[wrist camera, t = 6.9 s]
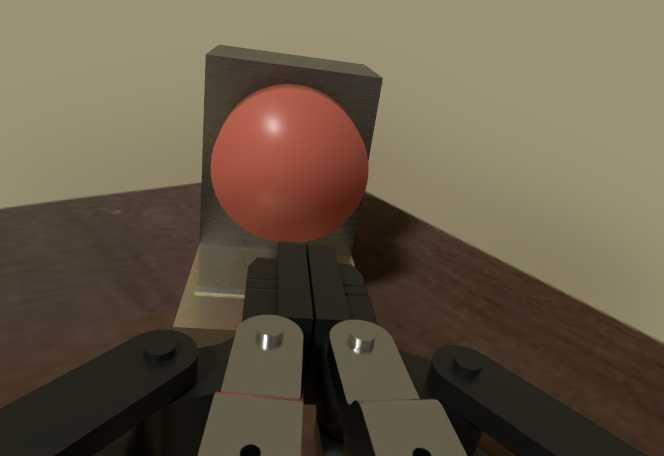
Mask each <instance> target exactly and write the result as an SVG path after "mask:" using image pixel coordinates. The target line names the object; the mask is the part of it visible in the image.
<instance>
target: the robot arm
mask: <svg viewBox="0 0 664 456" xmlns="http://www.w3.org/2000/svg"><path fill="white" fill-rule="evenodd" d="M302 393H303V399H304V404H309V405H316V412H317V414H316V421H315V427H314V439H315V445H316V451H317V456H489V455H488V454H487V453H485V452H484V451H483V450H481V449H480V448H479V447H477V445H478V442H479V439H480V437H481V434H482V431H483V432H485V433H486V434H488V435H489V436H490V437H492V438H493V439H494V440H496V441H497V442H499V443H500V444H501V445H503V446H504V447H505V448H507V449H508V450H510V451H511V452H512V453H514V454H515V455H516V456H647V455H645V454H644V453H642V452H641V451H639V450H637V449H636V448H634V447H632V446H631V445H629V444H628V443H626V442H624V441H623V440H621V439H619V438H618V437H616V436H615V435H613V434H611V433H610V432H608V431H606V430H605V429H603V428H602V427H600V426H598V425H597V424H595V423H593V422H592V421H590V420H589V419H587V418H585V417H584V416H582V415H581V414H579V413H577V412H576V411H574V410H572V409H571V408H569V407H568V406H566V405H564V404H563V403H561V402H559V401H558V400H556V399H555V398H553V397H551V396H550V395H548V394H546V393H545V392H543V391H542V390H540V389H538V388H537V387H535V386H534V385H532V384H530V383H529V382H527V381H525V380H524V379H522V378H521V377H519V376H517V375H516V374H514V373H512V372H511V371H509V370H508V369H506V368H504V367H503V366H501V365H499V364H498V363H496V362H495V361H493V360H491V359H490V358H488V357H487V356H485V355H483V354H481V353H480V352H478V351H475V350H473V349H470V348H467V347H463V346H456V345H450V346H444V347H441V348H439V349H438V350H436V351H435V353H434V354H433V357H432V361H431V360H428V359H424V358H420V357H416V356H413V355H409V354H406V353H404V352H402V351H399V350H398V349H397V347H396V345H395V343H394V341H393V339H392V337H391V335H390V334H389V333H388V332H387V331H386V330H385V329H383V328H382V327H380V326H378V325H377V322H376V319H375V316H374V313H373V309H372V306H371V303H370V299H369V297H368V293H367V290H366V288H365V283H364V280H363V276H362V274H361V273H360V272H359V271H358V270H357V269H356V268H355V267H354V266H353V265H352V264H341V263H338V262H337V258H336V253H335V249H334V246H333V245H323V244H311V243H307V244H306V246H305V243H297V242H285V241H278V246H277V255H276V259H273V258H259V257H257V258H256V259H255V260H254V261H253V262H252V263H251V264H250V265H249V266H248V271H247V280H246V289H245V297H244V306H243V314H242V323H241V324H240V325H239V326H238V328H237V330H236V334H235V335H234V336H233V337H232V338H230V339H228V340H226V341H224V342H222V343H219V344H216V345H212V346H206V347H200V348H198V347H197V344H196V342H195V341H194V340H193V339H192V338H191V337H190V336H188V335H186V334H184V333H182V332H179V331H174V330H154V331H149V332H146V333H143V334H140V335H138V336H136V337H134V338H132V339H130V340H128V341H126V342H124V343H122V344H121V345H119V346H117V347H115V348H113V349H111V350H109V351H107V352H106V353H104V354H102V355H100V356H98V357H96V358H94V359H92V360H91V361H89V362H87V363H85V364H83V365H81V366H79V367H77V368H76V369H74V370H72V371H70V372H68V373H66V374H64V375H63V376H61V377H59V378H57V379H55V380H53V381H51V382H49V383H48V384H46V385H44V386H42V387H40V388H38V389H36V390H34V391H33V392H31V393H29V394H27V395H25V396H23V397H21V398H19V399H18V400H16V401H14V402H12V403H10V404H8V405H6V406H4V407H3V408H1V409H0V456H301V435H302V411H303V399H302Z"/></svg>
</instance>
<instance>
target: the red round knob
mask: <svg viewBox="0 0 664 456" xmlns="http://www.w3.org/2000/svg"><path fill="white" fill-rule="evenodd" d="M211 178H212V184H213V188H214V191H215V194H216V196H217V198H218V201H219V203H220V204H221V206H222V208H223V209H224V211H225V212H226V213H227V214H228V216H229V217H230V218H231V219H232V220H233V221H234V222H235V223H236V224H237V225H238V226H240V227H241V228H243V229H244V230H245V231H247V232H249V233H251V234H252V235H254V236H256V237H259V238H262V239H264V240H268V241H272V242H277V243H278V241H285V242H297V243H303V242H308V241H312V240H315V239H318V238H321V237H323V236H325V235H327V234H329V233H331V232H332V231H334V230H336V229H337V228H338V227H340V226H341V225H342V224H343V223H344V222H346V220H347V219H348V218H349V217H350V216H351V215H352V214H353V212H354V211H355V210H356V208H357V207H358V205H359V203H360V201H361V199H362V197H363V194H364V192H365V189H366V185H367V180H368V157H367V152H366V148H365V145H364V142H363V140H362V138H361V136H360V133H359V132H358V130H357V129H356V127H355V125H354V124H353V122H352V121H351V119H350V117H349V116H348V114H347V113H346V112H345V110H344V109H343V108H342V107H341V106H340V105H339V104H338V103H337V102H336V101H335V100H333V99H332V98H331V97H329V96H328V95H326V94H324V93H322V92H320V91H318V90H316V89H313V88H311V87H308V86H303V85H298V84H279V85H273V86H269V87H266V88H263V89H260V90H258V91H256V92H254V93H252V94H250V95H249V96H247V97H246V98H244V99H243V100H242V101H241V102H240V103H238V104H237V105H236V106H235V107H234V109H233V110H232V111H231V112H230V114H229V115H228V117H227V119H226V120H225V122H224V124H223V126H222V128H221V131H220V133H219V135H218V138H217V140H216V142H215V145H214V148H213V152H212V158H211Z"/></svg>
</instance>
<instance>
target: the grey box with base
mask: <svg viewBox="0 0 664 456" xmlns="http://www.w3.org/2000/svg"><path fill="white" fill-rule="evenodd" d="M205 66H206V67H205V96H204V126H203V157H202V187H201V217H200V245H199V248H198V251H197V254H196V257H195V260H194V263H193V266H192V269H191V272H190V276H189V279H188V282H187V285H186V288H185V291H184V294H183V297H182V300H181V303H180V306H179V310H178V313H177V316H176V319H175V322H174V325H173V330H174V331H179V332H182V333H184V334H186V335H188V336H190V337H191V338H192V339H193V340H194V341H195V342H196V344H197V347H198V348H200V347H206V346H212V345H216V344H219V343H222V342H224V341H226V340H228V339H230V338H232V337H233V336H234V335H235V334H236V330H237V328H238V326H239V325H240V324H241V323H242V314H243V306H244V297H245V289H246V280H247V271H248V266H249V265H250V264H251V263H252V262H253V261H254V260H255V259H256V258H257V257H259V258H273V259H276V255H277V246H278V243H277V242H272V241H268V240H264V239H262V238H259V237H256V236H254V235H252V234H251V233H249V232H247V231H245V230H244V229H243V228H241V227H240V226H238V225H237V224H236V223H235V222H234V221H233V220H232V219H231V218H230V217H229V216H228V214H227V213H226V212H225V211H224V209H223V208H222V206H221V204H220V203H219V201H218V198H217V196H216V194H215V191H214V188H213V184H212V178H211V158H212V152H213V148H214V145H215V142H216V140H217V138H218V135H219V133H220V131H221V128H222V126H223V124H224V122H225V120H226V119H227V117H228V115H229V114H230V112H231V111H232V110H233V109H234V107H235V106H236V105H237V104H238V103H240V102H241V101H242V100H243V99H244V98H246V97H247V96H249V95H250V94H252V93H254V92H256V91H258V90H260V89H263V88H266V87H269V86H273V85H279V84H298V85H303V86H308V87H311V88H313V89H316V90H318V91H320V92H322V93H324V94H326V95H328V96H329V97H331V98H332V99H333V100H335V101H336V102H337V103H338V104H339V105H340V106H341V107H342V108H343V109H344V110H345V112H346V113H347V114H348V116H349V117H350V119H351V121H352V122H353V124H354V125H355V127H356V129H357V130H358V132H359V133H360V136H361V138H362V140H363V142H364V145H365V148H366V152H367V157H368V160H369V154H370V149H371V143H372V137H373V131H374V126H375V120H376V114H377V109H378V103H379V97H380V91H381V86H382V79H383V78H382V77H381V76H379V75H378V74H377V73H375V72H373V71H372V70H371V69H370V68H368V67H367V66H365V65H363V64H355V63H348V62H341V61H334V60H326V59H319V58H311V57H304V56H297V55H290V54H282V53H275V52H268V51H261V50H253V49H246V48H239V47H231V46H224V45H218V46H217V47H215V48H214V49H213V50H211V51H210V52H209V53H207V54H206V65H205ZM361 200H362V199H361ZM360 206H361V201H360V203H359V205H358V207H357V208H356V210H355V211H354V212H353V214H352V215H351V216H350V217H349V218H348V219H347V220H346V222H344V223H343V224H342V225H341V226H340V227H338V228H337V229H336V230H334V231H332V232H331V233H329V234H327V235H325V236H323V237H321V238H318V239H315V240H312V241H308V242H303V243H305V246H306V244H307V243H311V244H323V245H333V246H334V249H335V253H336V258H337V262H338V263H341V264H352V265H353V266H354V262H353V259H352V252H353V246H354V240H355V234H356V229H357V223H358V217H359V212H360ZM354 267H355V266H354Z"/></svg>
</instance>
